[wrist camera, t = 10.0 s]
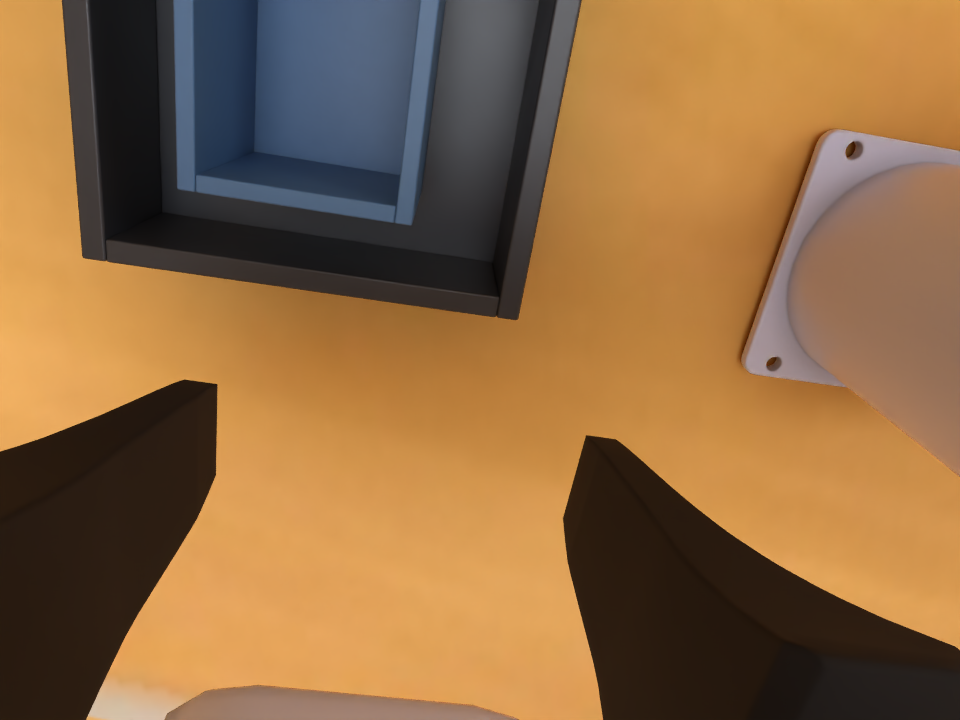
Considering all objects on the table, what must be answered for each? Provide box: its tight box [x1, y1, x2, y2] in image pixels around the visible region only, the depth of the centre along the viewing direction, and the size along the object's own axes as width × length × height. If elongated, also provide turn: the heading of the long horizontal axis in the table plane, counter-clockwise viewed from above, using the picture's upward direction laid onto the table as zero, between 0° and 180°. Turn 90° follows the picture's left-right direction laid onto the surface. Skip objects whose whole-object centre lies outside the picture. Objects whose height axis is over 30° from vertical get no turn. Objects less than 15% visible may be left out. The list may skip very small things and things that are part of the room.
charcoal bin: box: [62, 0, 582, 320], centre depth 16 cm, size 11×13×4 cm
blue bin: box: [173, 0, 446, 225], centre depth 15 cm, size 8×5×5 cm, turn 170°
